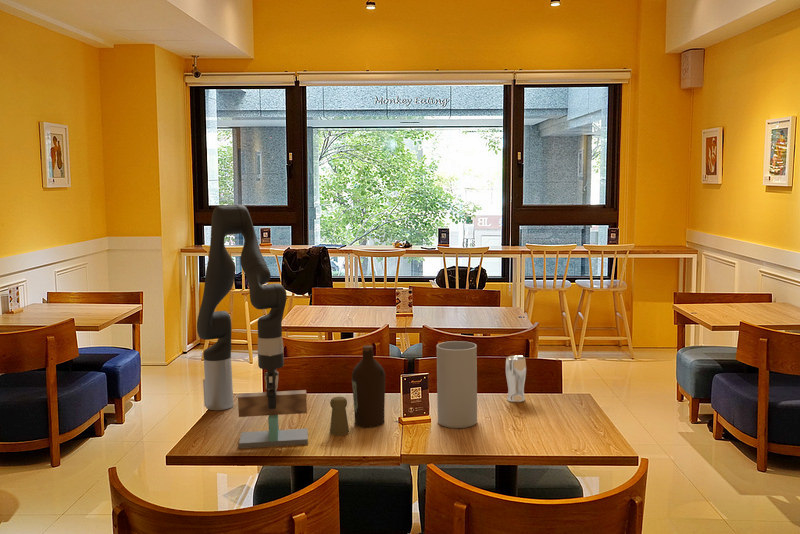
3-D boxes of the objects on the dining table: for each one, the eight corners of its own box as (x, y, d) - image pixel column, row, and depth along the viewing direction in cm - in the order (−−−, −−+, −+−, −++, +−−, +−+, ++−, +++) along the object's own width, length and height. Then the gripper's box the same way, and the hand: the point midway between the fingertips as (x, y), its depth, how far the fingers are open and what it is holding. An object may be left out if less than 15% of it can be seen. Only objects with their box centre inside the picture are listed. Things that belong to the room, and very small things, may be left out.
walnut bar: (238, 417, 233) (237, 397, 232) (239, 413, 237) (238, 393, 236) (306, 413, 236) (306, 393, 235) (306, 409, 240) (306, 389, 239)
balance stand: (239, 448, 231) (237, 420, 230) (241, 437, 241) (240, 410, 240) (307, 444, 234) (306, 416, 233) (307, 433, 244) (306, 406, 242)
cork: (334, 436, 240) (333, 401, 239) (326, 430, 245) (325, 396, 244) (352, 433, 243) (351, 398, 241) (344, 427, 248) (343, 393, 247)
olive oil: (386, 417, 258) (384, 342, 254) (386, 427, 247) (384, 349, 244) (353, 418, 257) (351, 343, 254) (352, 428, 247) (350, 350, 244)
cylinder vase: (450, 414, 259) (450, 339, 256) (484, 420, 252) (483, 344, 249) (430, 424, 249) (428, 347, 246) (464, 431, 242) (463, 351, 239)
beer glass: (529, 398, 275) (529, 356, 273) (521, 403, 269) (521, 360, 267) (510, 396, 279) (510, 354, 277) (502, 401, 273) (502, 358, 271)
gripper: (259, 346, 241) (261, 398, 243) (256, 357, 227) (258, 412, 229) (283, 345, 241) (285, 397, 244) (282, 356, 227) (285, 411, 229)
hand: (272, 404), depth 236 cm, fingers open, 8 cm apart
